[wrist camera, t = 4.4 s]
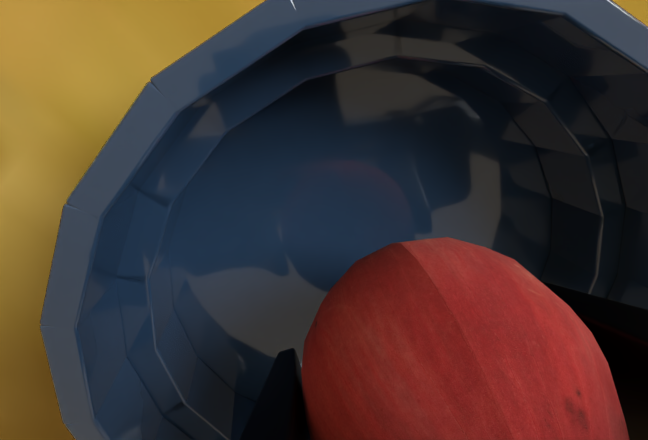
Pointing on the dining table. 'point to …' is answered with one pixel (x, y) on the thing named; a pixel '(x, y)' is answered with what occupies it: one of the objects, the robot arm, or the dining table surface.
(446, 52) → the bowl
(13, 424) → the dining table surface
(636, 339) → the robot arm
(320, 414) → the onion
